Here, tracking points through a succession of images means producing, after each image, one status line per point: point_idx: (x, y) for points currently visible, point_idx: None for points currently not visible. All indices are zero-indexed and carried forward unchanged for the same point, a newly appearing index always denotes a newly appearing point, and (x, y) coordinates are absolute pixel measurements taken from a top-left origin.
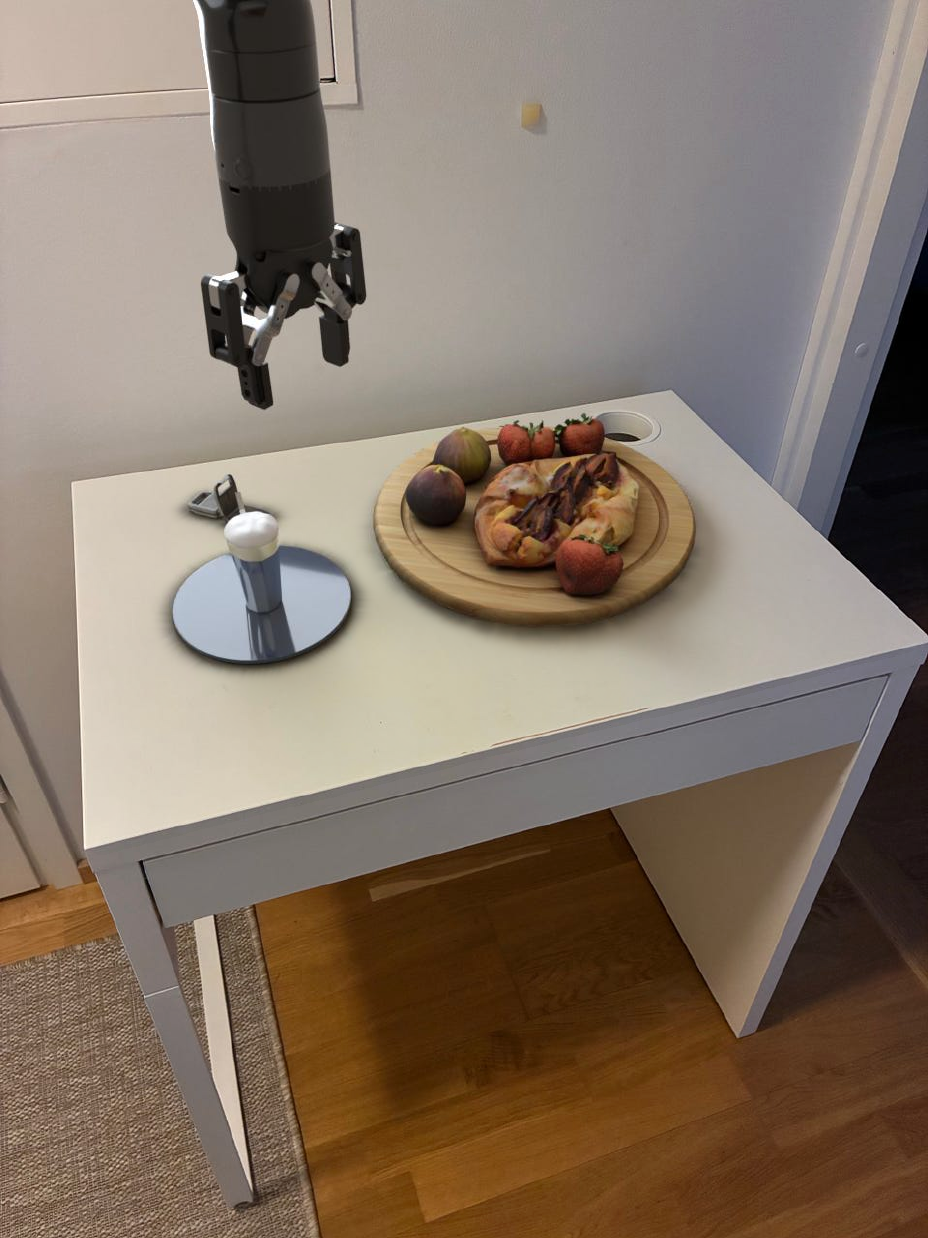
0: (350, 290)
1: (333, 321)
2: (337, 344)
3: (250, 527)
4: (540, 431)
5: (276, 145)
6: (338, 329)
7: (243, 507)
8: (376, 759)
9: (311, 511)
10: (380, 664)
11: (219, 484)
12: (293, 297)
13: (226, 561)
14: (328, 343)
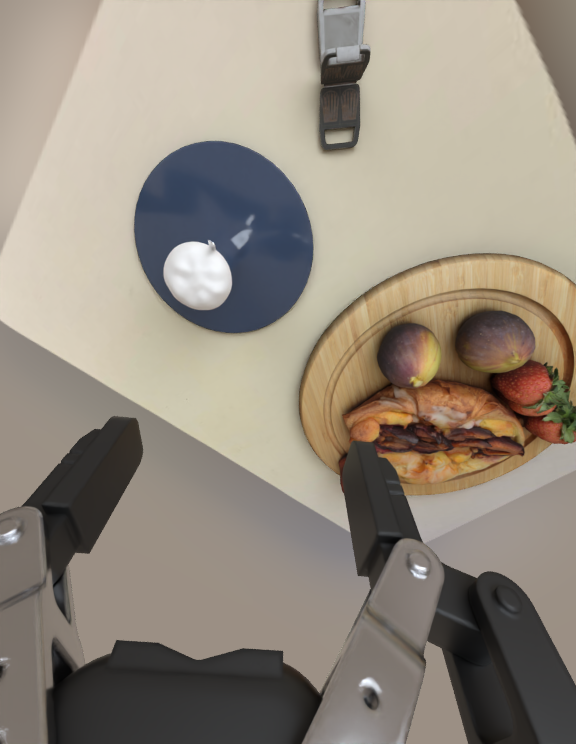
0: (464, 655)
1: (367, 562)
2: (351, 511)
3: (184, 292)
4: (537, 413)
5: None
6: (356, 555)
7: (214, 248)
8: (162, 410)
9: (386, 189)
10: (228, 374)
11: (335, 56)
12: None
13: (248, 166)
14: (356, 489)
